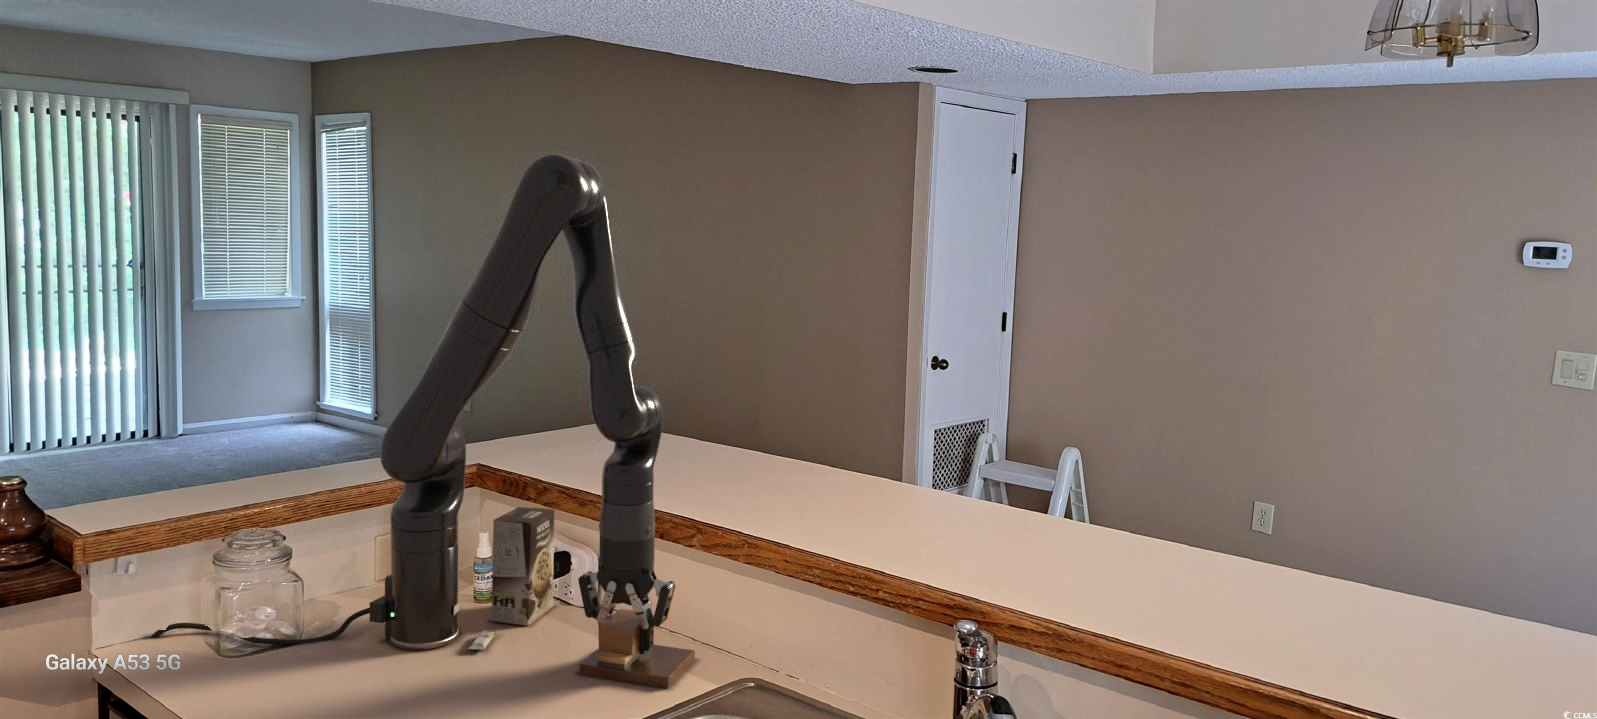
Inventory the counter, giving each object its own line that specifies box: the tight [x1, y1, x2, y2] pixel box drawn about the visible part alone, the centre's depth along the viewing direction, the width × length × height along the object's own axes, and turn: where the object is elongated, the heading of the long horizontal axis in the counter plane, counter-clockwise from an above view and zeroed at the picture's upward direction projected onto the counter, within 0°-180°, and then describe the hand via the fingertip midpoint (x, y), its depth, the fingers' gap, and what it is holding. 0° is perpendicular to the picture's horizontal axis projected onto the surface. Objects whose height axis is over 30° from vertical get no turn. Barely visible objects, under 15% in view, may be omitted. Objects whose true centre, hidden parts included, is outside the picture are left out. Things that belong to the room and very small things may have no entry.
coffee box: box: [491, 506, 556, 627], centre depth 166 cm, size 9×6×16 cm
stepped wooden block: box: [597, 608, 641, 670], centre depth 149 cm, size 10×5×5 cm, turn 165°
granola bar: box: [468, 629, 498, 651], centre depth 154 cm, size 7×2×1 cm, turn 1°
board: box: [579, 644, 696, 689], centre depth 149 cm, size 13×10×2 cm
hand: (625, 649), depth 149 cm, fingers closed on stepped wooden block, 5 cm apart
